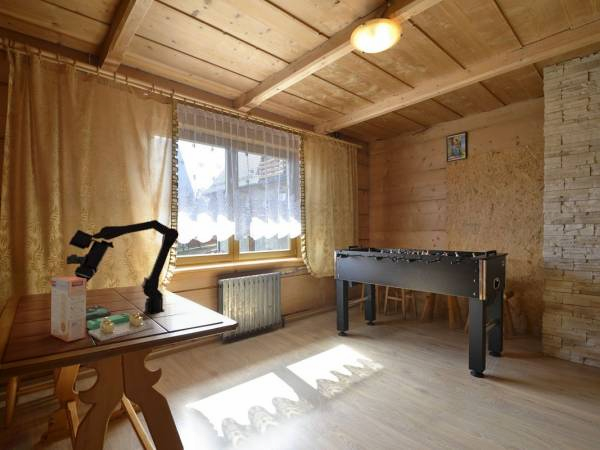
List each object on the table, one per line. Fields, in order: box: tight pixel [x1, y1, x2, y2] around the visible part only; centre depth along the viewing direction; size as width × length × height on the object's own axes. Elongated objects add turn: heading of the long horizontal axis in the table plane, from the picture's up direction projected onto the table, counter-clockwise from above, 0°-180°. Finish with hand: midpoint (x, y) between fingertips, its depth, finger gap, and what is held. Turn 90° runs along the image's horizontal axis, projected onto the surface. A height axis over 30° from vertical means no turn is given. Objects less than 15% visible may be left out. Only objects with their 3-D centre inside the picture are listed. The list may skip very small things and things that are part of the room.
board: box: [86, 312, 132, 331], centre depth 121 cm, size 14×6×2 cm, turn 141°
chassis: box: [88, 311, 155, 342], centre depth 114 cm, size 18×12×6 cm, turn 141°
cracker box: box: [50, 275, 87, 343], centre depth 108 cm, size 14×6×21 cm, turn 57°
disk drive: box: [86, 305, 112, 322], centre depth 134 cm, size 10×3×15 cm
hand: (76, 289), depth 125 cm, fingers open, 9 cm apart
